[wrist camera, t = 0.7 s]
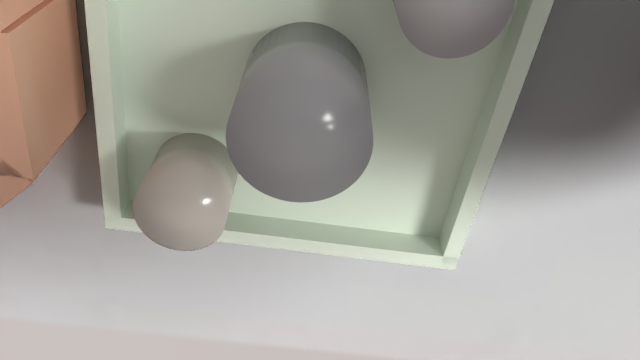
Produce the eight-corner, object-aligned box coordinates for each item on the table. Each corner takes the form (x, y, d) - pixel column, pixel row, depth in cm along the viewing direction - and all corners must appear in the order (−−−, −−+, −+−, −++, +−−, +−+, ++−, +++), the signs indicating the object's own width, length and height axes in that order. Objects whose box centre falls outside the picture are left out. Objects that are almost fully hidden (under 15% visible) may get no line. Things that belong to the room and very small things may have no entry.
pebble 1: (240, 138, 20) (227, 183, 18) (235, 206, 22) (223, 255, 19) (154, 127, 20) (130, 171, 17) (156, 196, 21) (134, 245, 19)
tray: (567, -103, 16) (589, -94, 15) (447, 242, 23) (454, 270, 22) (90, -180, 15) (67, -178, 14) (118, 202, 22) (105, 228, 21)
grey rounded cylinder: (377, 31, 18) (387, 85, 14) (355, 141, 20) (359, 210, 17) (249, 13, 17) (229, 64, 14) (241, 126, 20) (222, 193, 16)
